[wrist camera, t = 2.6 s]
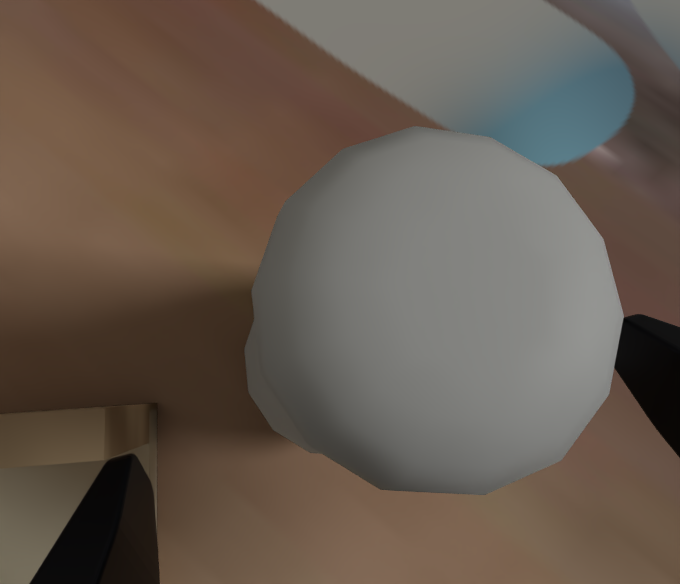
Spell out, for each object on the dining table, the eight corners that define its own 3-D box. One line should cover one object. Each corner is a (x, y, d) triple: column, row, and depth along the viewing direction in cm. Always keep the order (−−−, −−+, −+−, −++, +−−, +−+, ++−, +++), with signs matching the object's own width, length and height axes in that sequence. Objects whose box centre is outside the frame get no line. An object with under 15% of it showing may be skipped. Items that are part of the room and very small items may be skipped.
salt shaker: (218, 337, 17) (41, 188, 5) (352, 253, 18) (506, -52, 6) (310, 482, 17) (400, 772, 4) (442, 385, 18) (838, 369, 5)
